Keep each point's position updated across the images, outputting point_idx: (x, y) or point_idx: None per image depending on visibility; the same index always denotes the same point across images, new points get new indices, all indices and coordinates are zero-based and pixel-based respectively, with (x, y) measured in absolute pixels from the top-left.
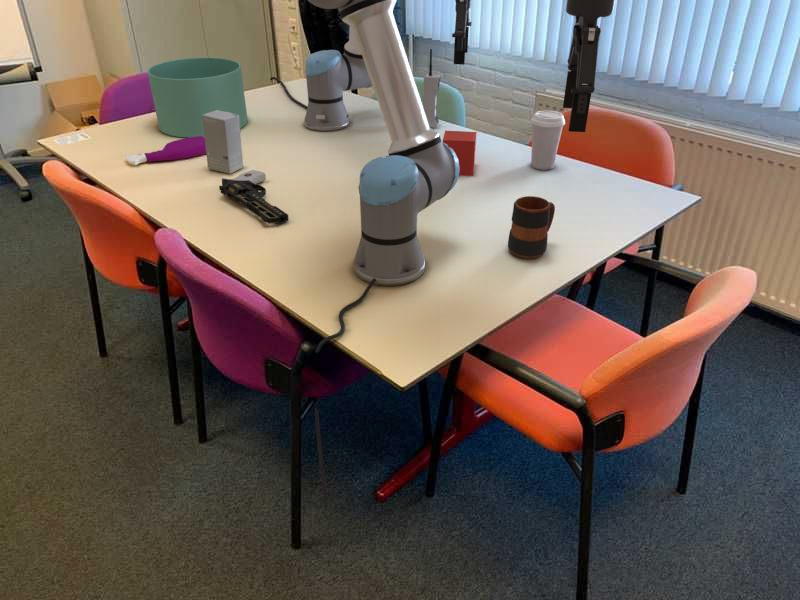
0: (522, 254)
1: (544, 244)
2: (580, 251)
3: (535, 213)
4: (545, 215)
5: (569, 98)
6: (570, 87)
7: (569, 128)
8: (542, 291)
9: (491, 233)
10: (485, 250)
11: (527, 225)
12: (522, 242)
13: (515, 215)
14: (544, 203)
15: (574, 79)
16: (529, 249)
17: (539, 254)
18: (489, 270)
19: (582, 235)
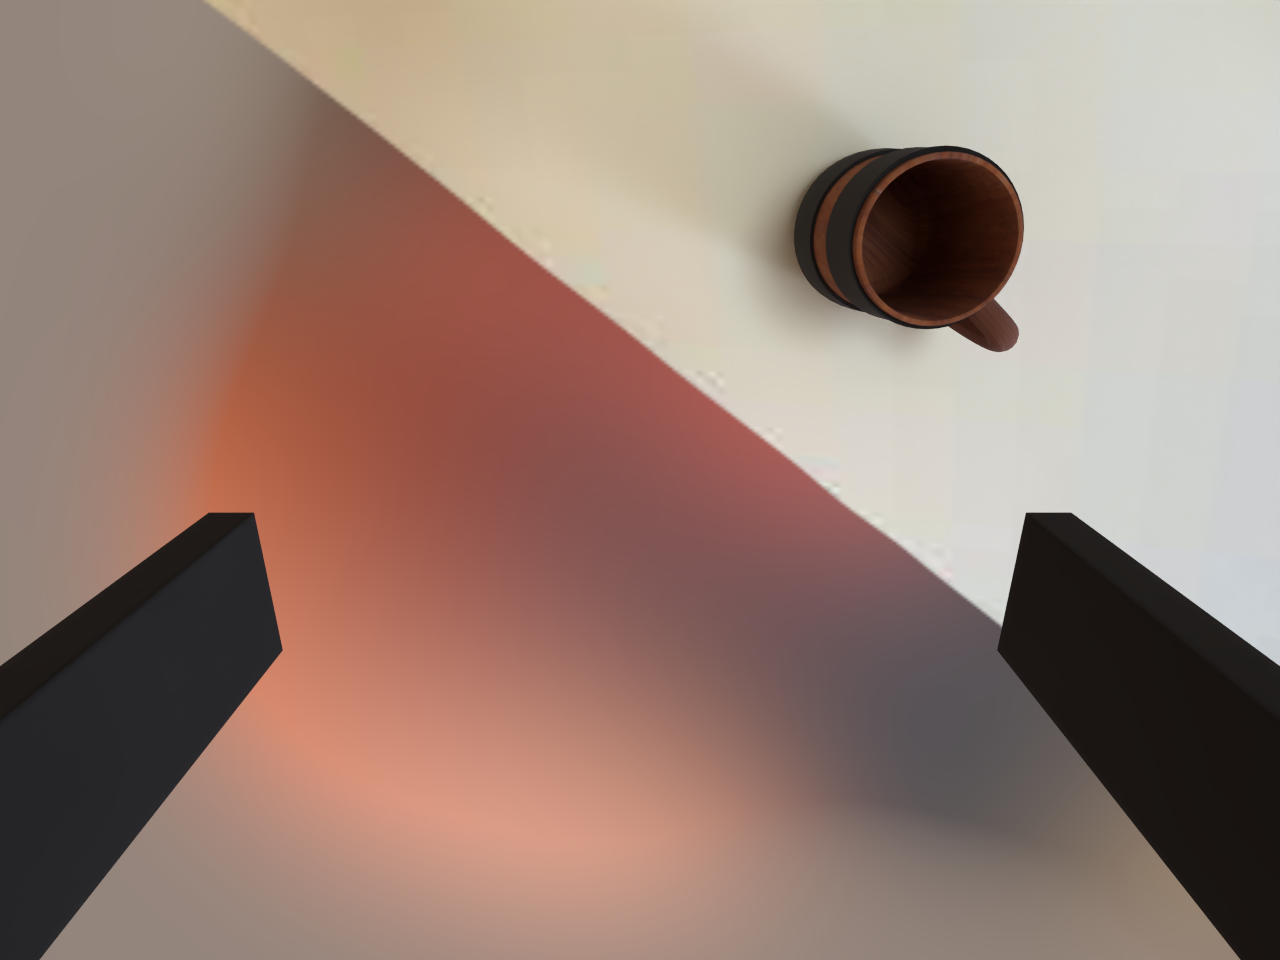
0: (798, 211)
1: (830, 298)
2: (868, 426)
3: (847, 255)
4: (864, 303)
5: (1071, 618)
6: (1169, 698)
7: (194, 527)
8: (583, 280)
9: (1021, 77)
10: (867, 53)
11: (832, 221)
12: (814, 206)
13: (887, 160)
14: (967, 304)
15: (1246, 826)
16: (800, 237)
17: (806, 278)
18: (705, 76)
19: (989, 443)
